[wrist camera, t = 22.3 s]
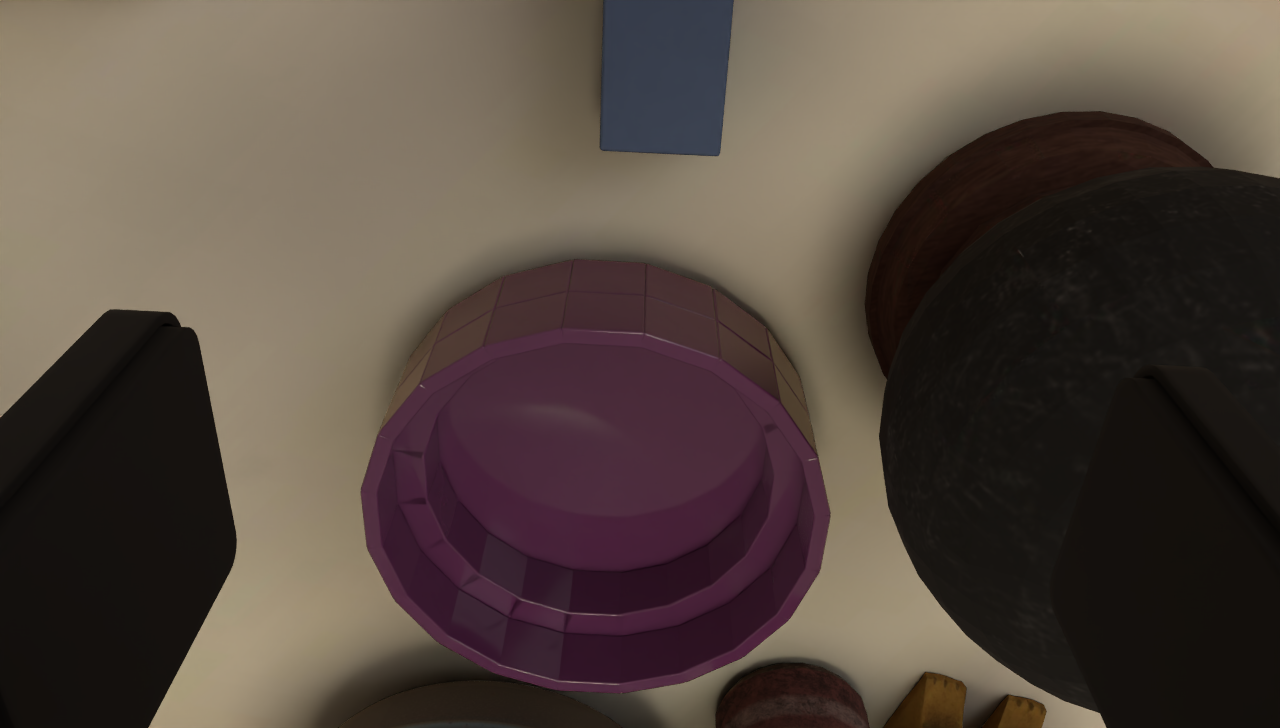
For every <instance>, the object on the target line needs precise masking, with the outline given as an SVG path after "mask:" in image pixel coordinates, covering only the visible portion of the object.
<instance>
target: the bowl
mask: <svg viewBox="0 0 1280 728" xmlns="http://www.w3.org/2000/svg"><path fill="white" fill-rule="evenodd" d="M361 500H362V509H363V518H364V527H365V536H366V545H367V549H368V551H369V553H370V555H371V557H372V559H373V561H374V563H375V565H376V567H377V569H378V570H379V572H380V574H381V576H382V578H383V580H384V582H385V584H386V586H387V588H388V589H389V591H390V593H391V595H392V597H393V599H395V601H396V602H397V603H398V604H399V605H400V606H401V607H402V608H403V609H404V610H405V611H406V612H407V613H408V614H409V615H410V616H411V617H412V618H413V619H414V620H415V621H416V622H417V623H418V624H419V625H420V626H421V627H422V628H423V629H424V630H425V631H426V632H427V633H428V634H430V635H431V636H432V637H433V638H434V639H435V640H436V641H437V642H439V643H440V644H441V645H443V646H445V647H447V648H449V649H450V650H452V651H454V652H456V653H458V654H459V655H461V656H463V657H465V658H467V659H469V660H470V661H472V662H474V663H476V664H478V665H479V666H481V667H483V668H485V669H487V670H489V671H490V672H494V673H495V674H498V675H502V676H505V677H509V678H513V679H516V680H520V681H523V682H527V683H531V684H534V685H538V686H542V687H545V688H549V689H553V690H556V689H557V690H558V691H577V692H598V693H618V694H620V693H621V692H622V693H629V692H634V691H640V690H646V689H652V688H657V687H663V686H669V685H675V684H680V683H684V682H688V681H690V680H693V679H695V678H697V677H699V676H702V675H704V674H706V673H709V672H711V671H713V670H716V669H718V668H720V667H722V666H725V665H727V664H729V663H732V662H734V661H736V660H739V659H741V658H742V657H744V656H745V655H747V654H748V653H749V652H750V651H752V650H753V649H754V648H755V647H757V646H758V645H759V644H760V643H761V642H763V641H764V640H765V639H766V638H768V637H769V636H770V635H771V634H773V633H774V632H775V631H776V630H777V629H779V628H780V627H781V626H782V625H784V624H785V623H786V622H787V621H788V620H789V619H790V618H791V616H792V615H793V613H794V612H795V610H796V608H797V607H798V605H799V604H800V602H801V601H802V599H803V597H804V596H805V594H806V593H807V591H808V589H809V588H810V586H811V585H812V583H813V582H814V580H815V578H816V577H817V575H818V574H819V571H820V569H821V564H822V559H823V554H824V548H825V543H826V538H827V532H828V527H829V522H830V517H831V516H830V514H831V513H830V508H829V503H828V499H827V494H826V490H825V485H824V481H823V476H822V472H821V467H820V463H819V458H818V454H817V449H816V445H815V440H814V436H813V431H812V427H811V423H810V418H809V414H808V410H807V405H806V401H805V396H804V392H803V387H802V383H801V379H800V377H799V375H798V374H797V372H796V371H795V369H794V368H793V366H792V365H791V363H790V362H789V360H788V359H787V357H786V356H785V354H784V353H783V351H782V350H781V348H780V347H779V345H778V344H777V342H776V341H775V339H774V338H773V336H772V335H771V333H770V332H769V330H768V329H767V328H765V326H764V325H762V324H761V323H760V322H758V321H757V320H756V319H754V318H753V317H752V316H750V315H749V314H748V313H747V312H745V311H744V310H743V309H741V308H740V307H739V306H737V305H736V304H735V303H733V302H732V301H731V300H729V299H728V298H727V297H725V296H724V295H723V294H721V293H720V292H719V291H717V290H716V289H714V288H713V289H712V287H711V286H709V285H706V284H703V283H700V282H697V281H695V280H692V279H689V278H686V277H683V276H681V275H678V274H675V273H672V272H669V271H667V270H664V269H661V268H658V267H655V266H652V265H650V264H645V263H637V262H619V261H601V260H582V259H574V260H568V261H564V262H560V263H556V264H552V265H547V266H543V267H539V268H535V269H531V270H527V271H522V272H518V273H514V274H510V275H506V276H503V277H501V278H499V279H498V280H496V281H494V282H493V283H491V284H489V285H488V286H486V287H484V288H483V289H481V290H479V291H478V292H476V293H475V294H473V295H471V296H470V297H468V298H466V299H465V300H463V301H461V302H460V303H458V304H456V305H455V306H453V307H451V308H450V309H449V310H448V311H446V312H445V314H444V315H443V316H442V317H441V319H440V320H439V321H438V322H437V324H436V325H435V326H434V327H433V329H432V330H431V331H430V332H429V334H428V335H427V336H426V337H425V338H424V340H423V341H422V342H421V343H420V345H419V346H418V347H417V348H416V350H415V351H414V352H413V353H412V355H411V356H410V358H409V360H408V362H407V365H406V367H405V369H404V372H403V374H402V377H401V379H400V381H399V384H398V386H397V389H396V391H395V394H394V396H393V398H392V401H391V403H390V405H389V408H388V410H387V413H386V415H385V417H384V420H383V422H382V425H381V427H380V430H379V432H378V434H377V438H376V441H375V444H374V447H373V451H372V454H371V457H370V460H369V464H368V467H367V470H366V474H365V477H364V480H363V483H362V487H361Z"/></svg>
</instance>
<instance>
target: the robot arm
mask: <svg viewBox="0 0 1280 728" xmlns="http://www.w3.org/2000/svg"><path fill="white" fill-rule="evenodd" d="M236 544H237V538H236V530H235V525H234V520H233V515H232V509H231V504H230V499H229V494H228V489H227V484H226V479H225V473H224V468H223V463H222V458H221V453H220V448H219V443H218V437H217V432H216V427H215V422H214V417H213V412H212V407H211V401H210V396H209V391H208V386H207V381H206V376H205V371H204V365H203V360H202V355H201V350H200V345H199V341H198V338H197V335H196V333H195V332H194V330H193V329H191V328H190V327H181V325H180V323H179V321H178V319H177V318H176V316H175V315H173V314H172V313H170V312H156V311H137V310H118V309H114V310H109V311H107V312H106V313H104V314H103V315H102V316H101V317H100V318H99V319H98V320H97V321H96V322H95V323H94V324H93V325H92V326H91V327H90V328H89V329H88V330H87V331H86V332H85V333H84V334H83V335H82V336H81V337H80V338H79V339H78V340H77V341H76V342H75V343H74V344H73V345H72V346H71V347H70V348H69V349H68V350H67V351H66V352H65V353H64V354H63V355H62V356H61V357H60V358H59V359H58V360H57V361H56V362H55V363H54V364H53V365H52V366H51V367H50V368H49V369H48V370H47V371H46V372H45V373H44V374H43V375H42V376H41V377H40V378H39V379H38V380H37V381H36V382H35V383H34V384H33V385H32V386H31V387H30V388H29V389H28V390H27V392H26V393H25V394H24V395H23V396H22V397H21V398H20V399H19V400H18V401H17V402H16V403H15V404H14V405H13V406H12V407H11V408H10V409H9V410H8V411H7V412H6V413H5V414H4V415H3V416H2V417H1V418H0V728H148V727H149V725H150V723H151V722H152V720H153V718H154V716H155V714H156V712H157V710H158V708H159V706H160V704H161V702H162V701H163V699H164V697H165V695H166V693H167V691H168V689H169V687H170V685H171V683H172V681H173V680H174V678H175V676H176V674H177V672H178V670H179V668H180V666H181V664H182V662H183V661H184V659H185V657H186V655H187V653H188V651H189V649H190V647H191V645H192V643H193V641H194V640H195V638H196V636H197V634H198V632H199V630H200V628H201V626H202V624H203V622H204V620H205V619H206V617H207V615H208V613H209V611H210V609H211V607H212V605H213V603H214V601H215V599H216V598H217V596H218V594H219V592H220V590H221V588H222V586H223V584H224V582H225V580H226V579H227V577H228V575H229V573H230V571H231V568H232V566H233V563H234V559H235V554H236ZM1050 600H1051V606H1052V609H1053V612H1054V614H1055V616H1056V618H1057V621H1058V623H1059V625H1060V627H1061V629H1062V632H1063V634H1064V636H1065V638H1066V640H1067V642H1068V645H1069V647H1070V649H1071V651H1072V653H1073V655H1074V658H1075V660H1076V662H1077V664H1078V666H1079V669H1080V671H1081V673H1082V675H1083V677H1084V679H1085V682H1086V684H1087V686H1088V688H1089V690H1090V692H1091V695H1092V697H1093V699H1094V701H1095V703H1096V706H1097V708H1098V710H1099V712H1100V714H1101V716H1102V719H1103V721H1104V723H1105V725H1106V727H1107V728H1280V447H1279V446H1278V445H1277V444H1276V443H1275V442H1274V441H1273V439H1272V438H1271V437H1270V436H1269V435H1268V434H1267V433H1266V432H1265V430H1264V429H1263V428H1262V427H1261V426H1260V425H1259V424H1258V423H1257V422H1256V420H1255V419H1254V418H1253V417H1252V416H1251V415H1250V414H1249V413H1248V411H1247V410H1246V409H1245V408H1244V407H1243V406H1242V405H1241V404H1240V403H1239V401H1238V400H1237V399H1236V398H1235V397H1234V396H1233V395H1232V394H1231V392H1230V391H1229V390H1228V389H1227V388H1226V387H1225V386H1224V385H1223V384H1222V382H1221V381H1220V380H1219V379H1218V378H1217V377H1216V376H1215V375H1214V373H1212V372H1211V371H1210V370H1208V369H1207V368H1200V367H1184V366H1165V365H1145V366H1143V367H1141V368H1140V369H1139V370H1138V372H1137V373H1136V374H1135V375H1134V378H1125V379H1122V380H1121V381H1120V383H1119V384H1118V385H1117V387H1116V390H1115V392H1114V395H1113V397H1112V400H1111V403H1110V406H1109V409H1108V412H1107V415H1106V418H1105V421H1104V424H1103V426H1102V429H1101V432H1100V435H1099V438H1098V441H1097V444H1096V447H1095V450H1094V453H1093V456H1092V458H1091V461H1090V464H1089V467H1088V470H1087V473H1086V476H1085V479H1084V482H1083V485H1082V488H1081V490H1080V493H1079V496H1078V499H1077V502H1076V505H1075V508H1074V511H1073V514H1072V517H1071V519H1070V522H1069V525H1068V528H1067V531H1066V534H1065V537H1064V540H1063V543H1062V546H1061V549H1060V551H1059V554H1058V557H1057V560H1056V563H1055V566H1054V569H1053V572H1052V575H1051V580H1050Z"/></svg>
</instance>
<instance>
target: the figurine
mask: <svg viewBox="0 0 1280 728" xmlns="http://www.w3.org/2000/svg"><path fill="white" fill-rule="evenodd" d="M966 689H967V688H966V687H965V685H964V684H963V683H962V682H961V681H957V680H954V679H952V678H949V677H947V676H944V675H940V674H934V673H928V672H925V674H924V675H923V677H922V678H921V679H920V681H919V682H918V684H917V685H916V686H915V687H914V688H913V689H912V691H911V692H910V693H909V694H908V695H907V697H906V698H905V699H904V701H903V702H902V703H901V705H900V706H899V707H898V709H897V710H896V711H895V713H894V714H893V715H892V717H891V718H890V719H889V721H888V722H887V723H886V725H885V726H884V728H962V721H963V710H964V703H965V696H966ZM1046 712H1047V711H1046V709H1045V707H1044V705H1043V704H1040V703H1038V702H1036V701H1033V700H1031V699H1026V698H1022V697H1015V696H1012V695H1008V696H1007V697H1006V698H1005V699H1004V700H1003V701H1002V702H1001V703H1000V705H999V706H998V707H997V708H996V710H995V711H994V712H993V714H992V715H991V716H990V717H989V719H988V720H987V721H986V722H985V724H984V725H983V726H982V728H1041V727H1042V725H1043V722H1044V719H1045V715H1046Z"/></svg>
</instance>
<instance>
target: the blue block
mask: <svg viewBox="0 0 1280 728" xmlns="http://www.w3.org/2000/svg"><path fill="white" fill-rule="evenodd" d="M733 2H734V0H603V37H602V77H601V116H600V149H601V150H603V151H618V152H639V153H659V154H680V155H701V156H719V154H720V150H721V138H722V127H723V116H724V104H725V93H726V82H727V70H728V59H729V48H730V36H731V25H732V13H733Z"/></svg>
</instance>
